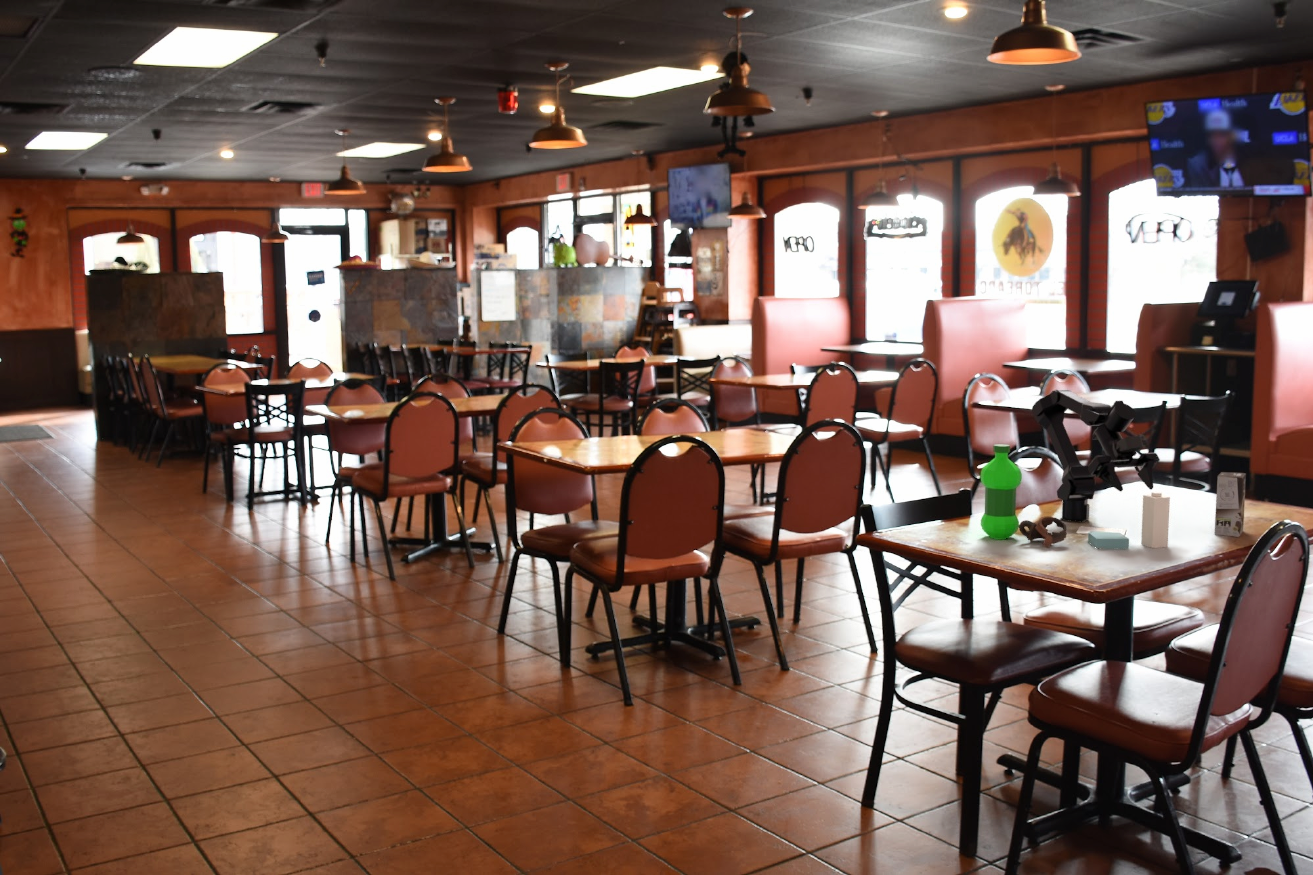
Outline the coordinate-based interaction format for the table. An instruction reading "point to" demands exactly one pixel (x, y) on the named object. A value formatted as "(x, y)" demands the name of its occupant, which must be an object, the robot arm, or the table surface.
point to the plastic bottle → (1000, 494)
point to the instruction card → (1099, 530)
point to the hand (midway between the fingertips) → (1136, 489)
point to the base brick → (1108, 540)
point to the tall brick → (1155, 520)
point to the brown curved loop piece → (1043, 530)
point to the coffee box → (1230, 504)
